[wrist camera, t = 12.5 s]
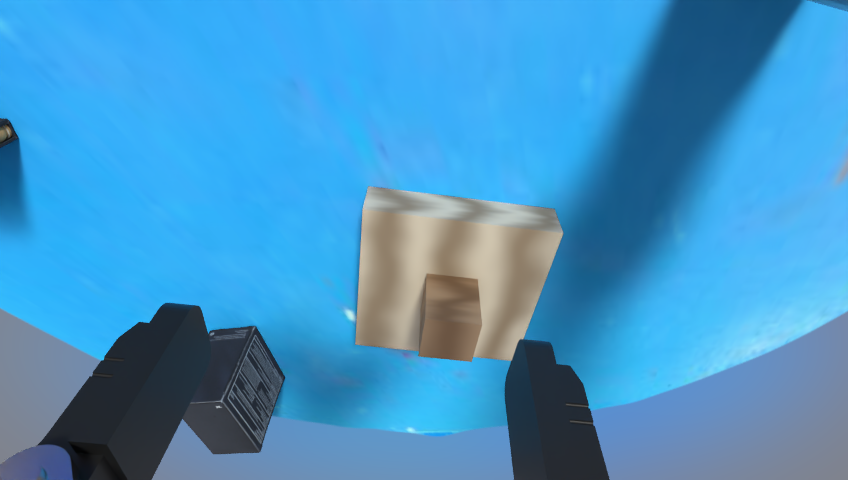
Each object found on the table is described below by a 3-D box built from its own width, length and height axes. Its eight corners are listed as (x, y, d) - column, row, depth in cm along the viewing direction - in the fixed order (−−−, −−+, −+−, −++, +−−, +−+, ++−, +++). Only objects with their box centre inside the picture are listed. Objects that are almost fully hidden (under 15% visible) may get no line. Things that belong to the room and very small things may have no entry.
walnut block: (477, 279, 45) (482, 325, 40) (468, 314, 48) (471, 361, 43) (426, 273, 45) (425, 319, 40) (420, 309, 48) (418, 356, 43)
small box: (206, 329, 56) (164, 405, 48) (256, 323, 55) (223, 400, 47) (241, 381, 62) (210, 457, 54) (286, 377, 62) (262, 453, 53)
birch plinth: (554, 209, 44) (563, 233, 41) (510, 334, 55) (514, 361, 52) (368, 186, 44) (362, 209, 40) (360, 318, 54) (355, 344, 51)
